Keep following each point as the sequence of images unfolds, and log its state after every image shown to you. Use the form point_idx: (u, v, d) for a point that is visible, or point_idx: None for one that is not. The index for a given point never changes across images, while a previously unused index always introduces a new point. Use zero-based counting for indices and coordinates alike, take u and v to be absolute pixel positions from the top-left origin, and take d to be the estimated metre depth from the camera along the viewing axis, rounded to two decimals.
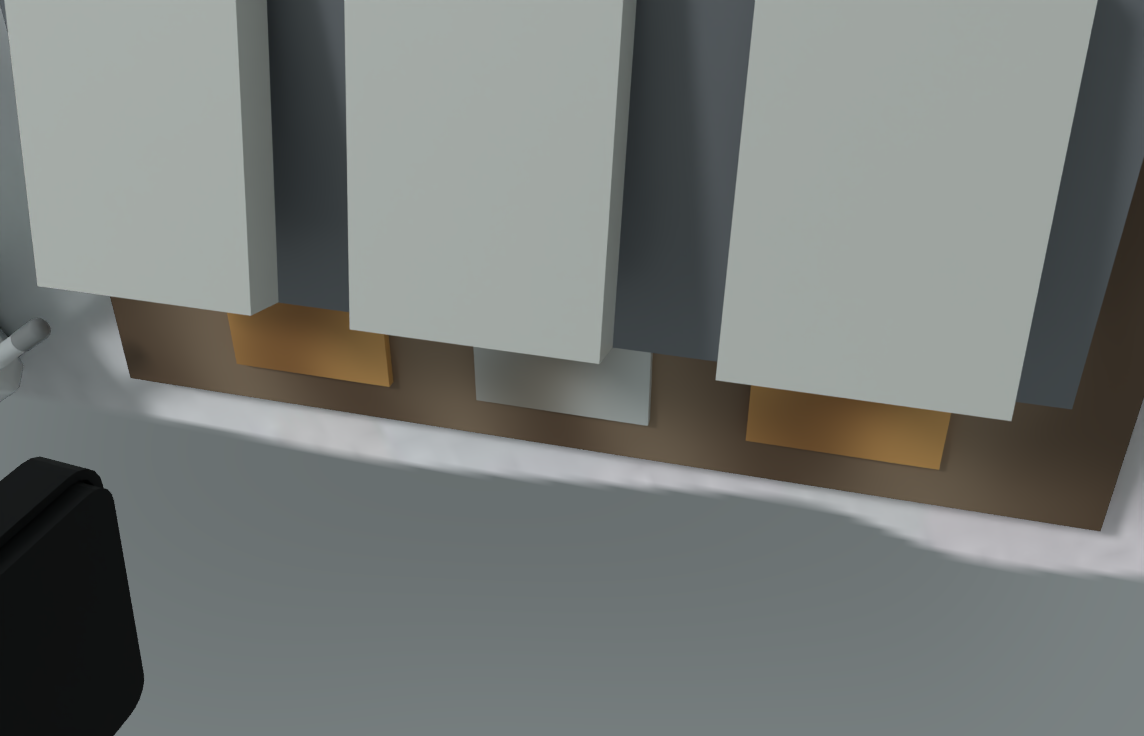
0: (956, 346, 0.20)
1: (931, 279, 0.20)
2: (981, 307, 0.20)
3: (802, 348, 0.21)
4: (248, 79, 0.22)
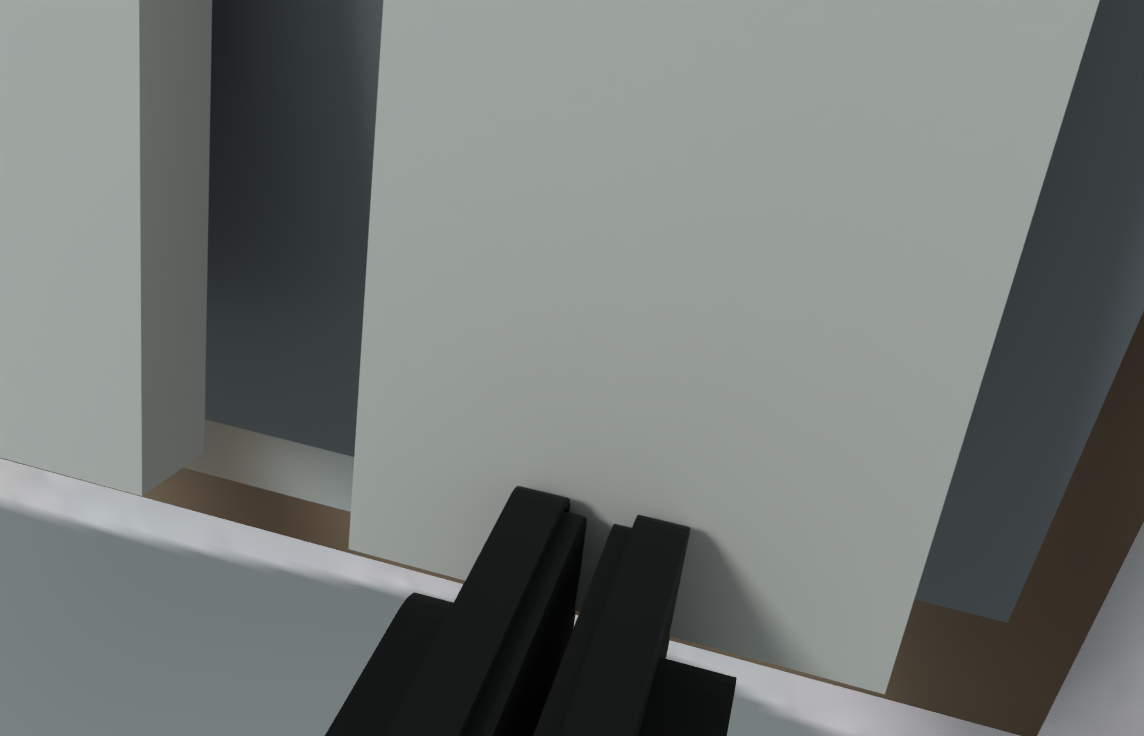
0: (789, 546, 0.10)
1: (746, 414, 0.10)
2: (841, 480, 0.10)
3: (500, 513, 0.11)
4: None
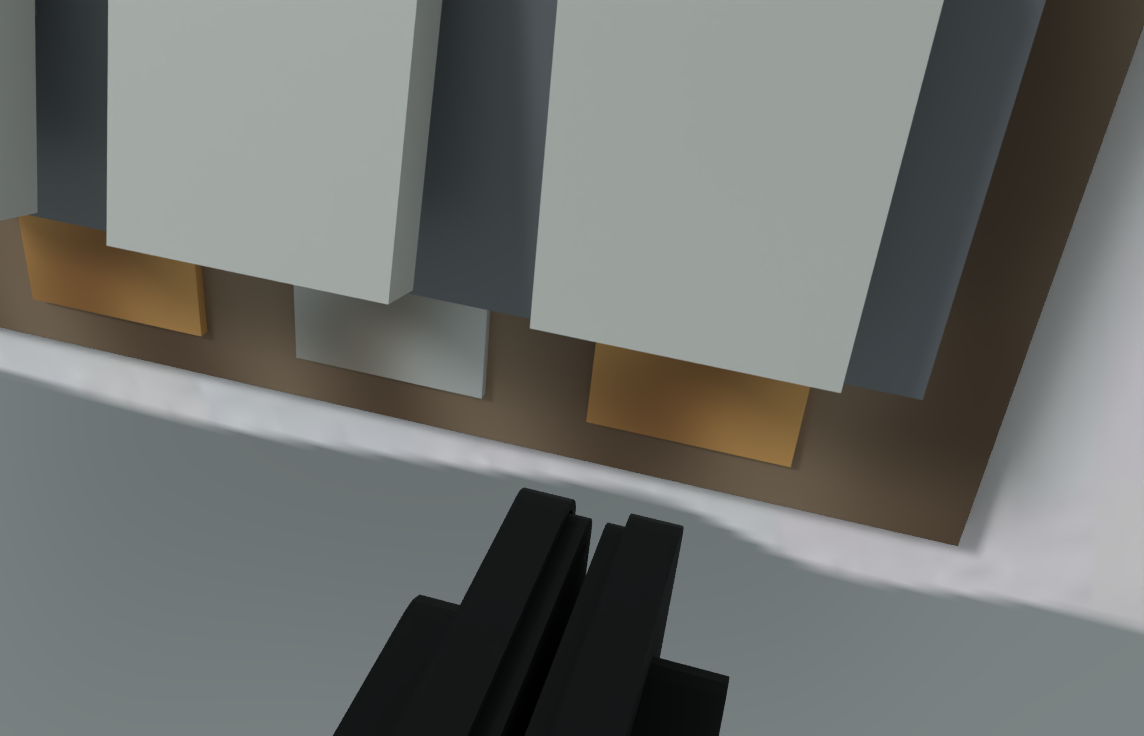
0: (785, 311, 0.18)
1: (761, 238, 0.17)
2: (814, 272, 0.17)
3: (621, 302, 0.19)
4: None
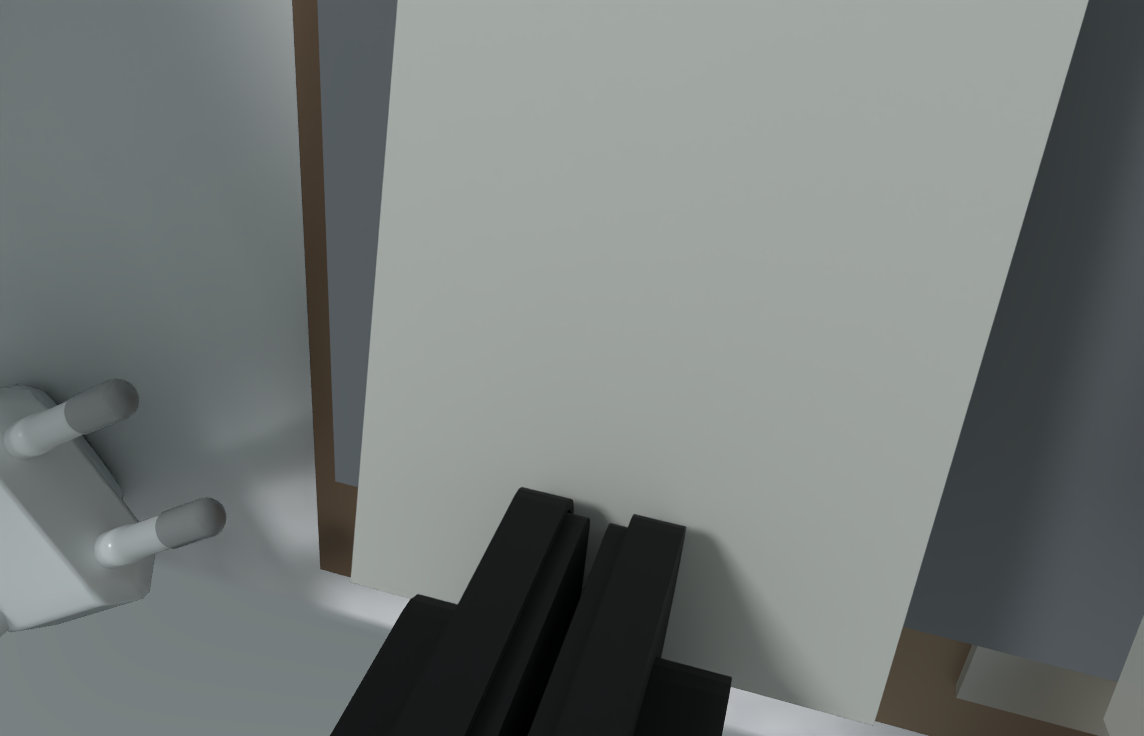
0: None
1: None
2: None
3: None
4: (1015, 217, 0.09)
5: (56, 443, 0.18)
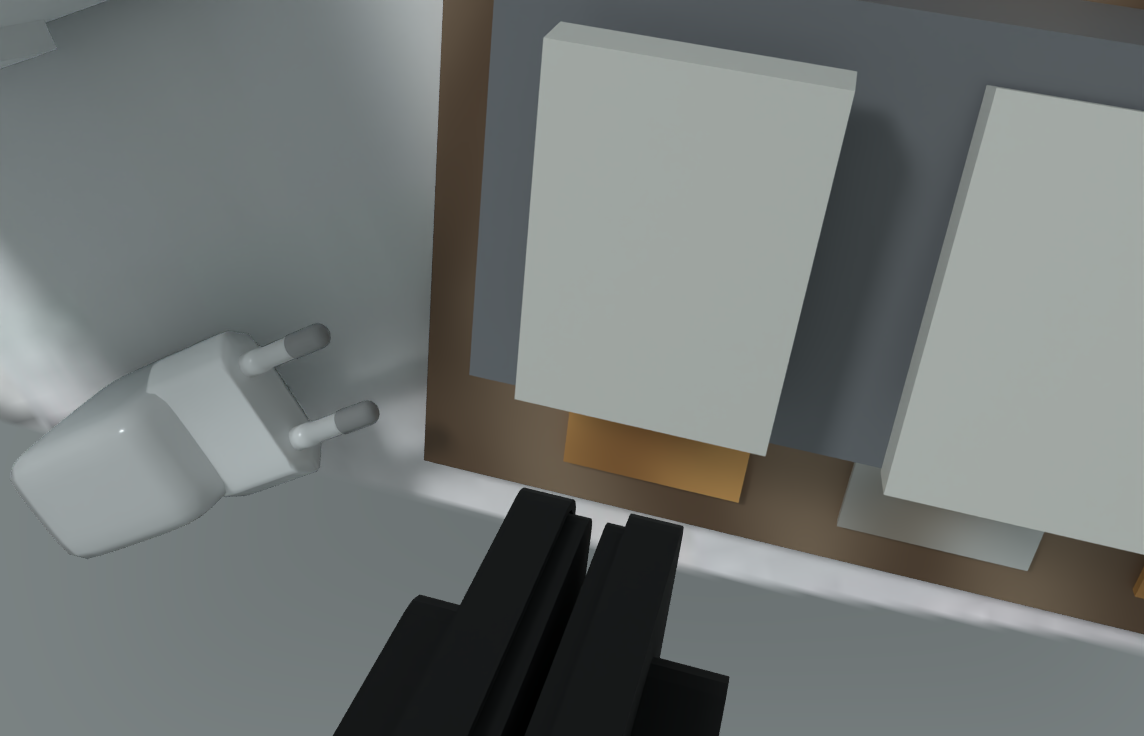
0: None
1: None
2: None
3: None
4: None
5: (274, 365, 0.29)
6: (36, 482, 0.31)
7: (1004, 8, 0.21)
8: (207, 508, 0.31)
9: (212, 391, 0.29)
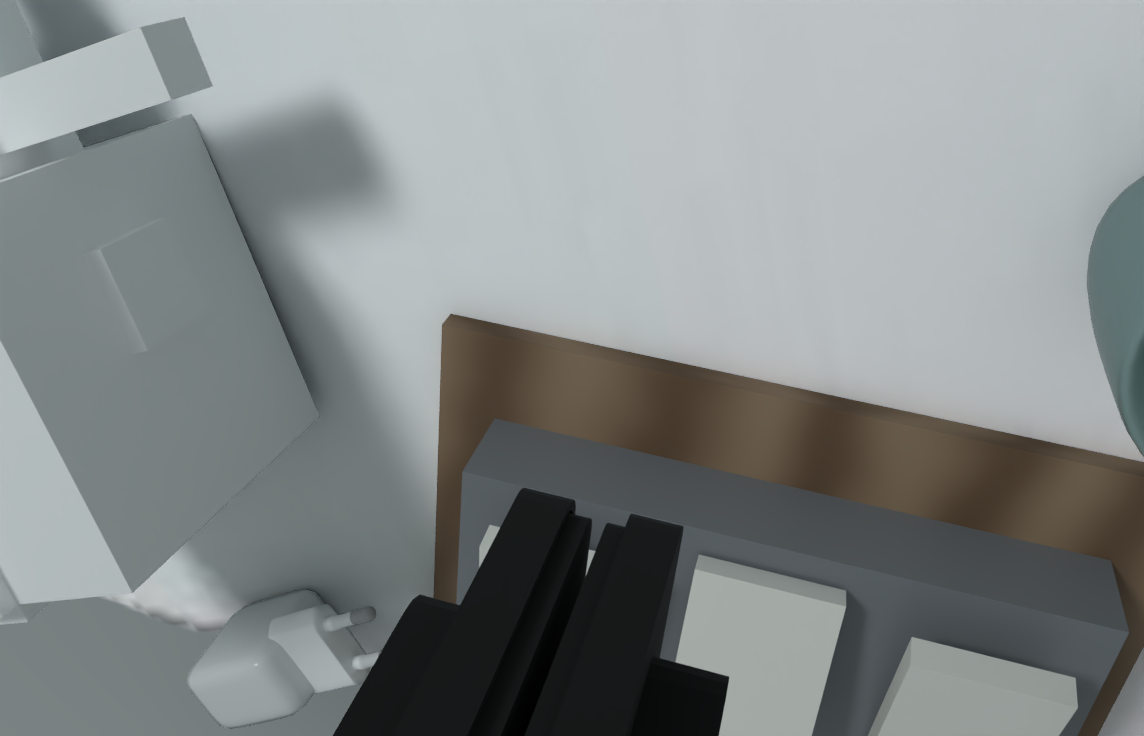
0: None
1: None
2: None
3: None
4: None
5: (343, 627, 0.51)
6: (204, 689, 0.52)
7: (714, 505, 0.42)
8: (304, 705, 0.52)
9: (308, 641, 0.51)
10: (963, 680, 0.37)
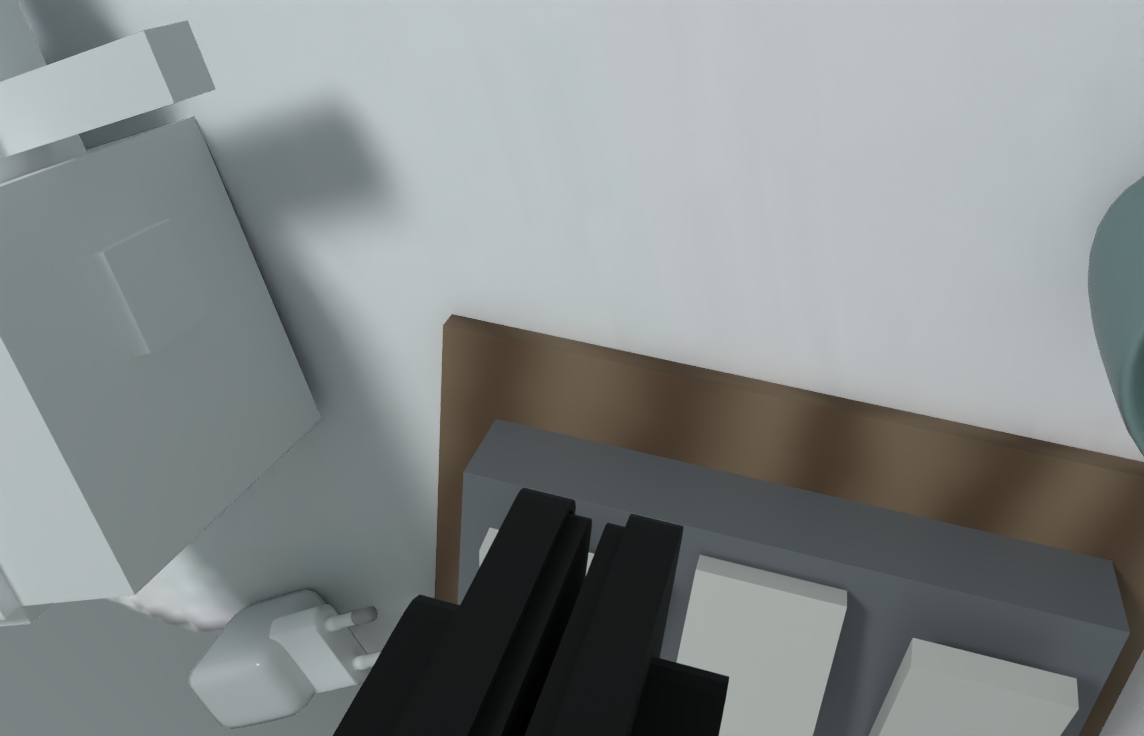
0: None
1: None
2: None
3: None
4: None
5: (345, 627, 0.51)
6: (205, 688, 0.52)
7: (715, 506, 0.42)
8: (305, 705, 0.52)
9: (309, 641, 0.51)
10: (964, 681, 0.37)
